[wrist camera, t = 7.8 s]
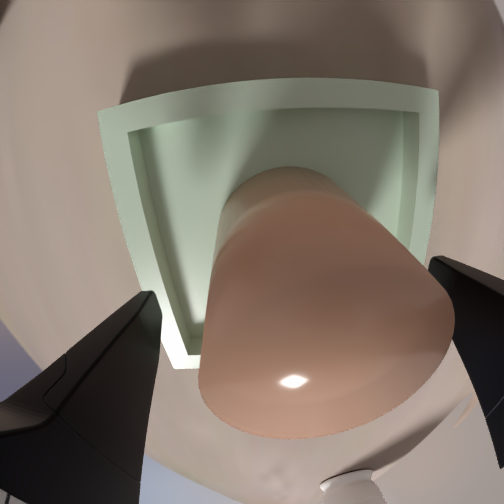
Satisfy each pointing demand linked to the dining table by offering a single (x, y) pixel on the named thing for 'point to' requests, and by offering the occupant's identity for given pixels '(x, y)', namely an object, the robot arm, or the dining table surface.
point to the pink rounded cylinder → (314, 311)
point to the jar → (352, 489)
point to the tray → (259, 171)
